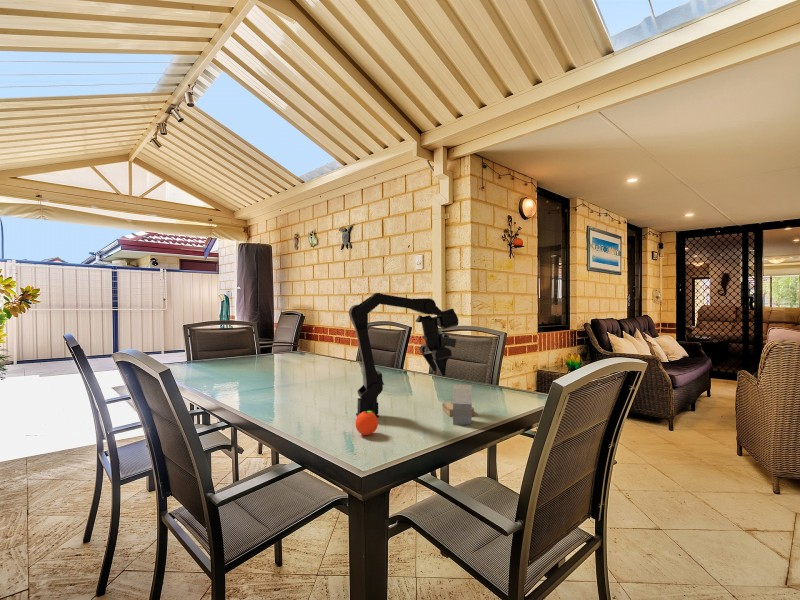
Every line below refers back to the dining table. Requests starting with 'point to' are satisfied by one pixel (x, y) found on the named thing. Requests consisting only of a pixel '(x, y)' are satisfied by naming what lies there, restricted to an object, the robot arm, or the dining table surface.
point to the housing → (462, 405)
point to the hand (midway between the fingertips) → (439, 373)
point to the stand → (451, 409)
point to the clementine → (366, 423)
